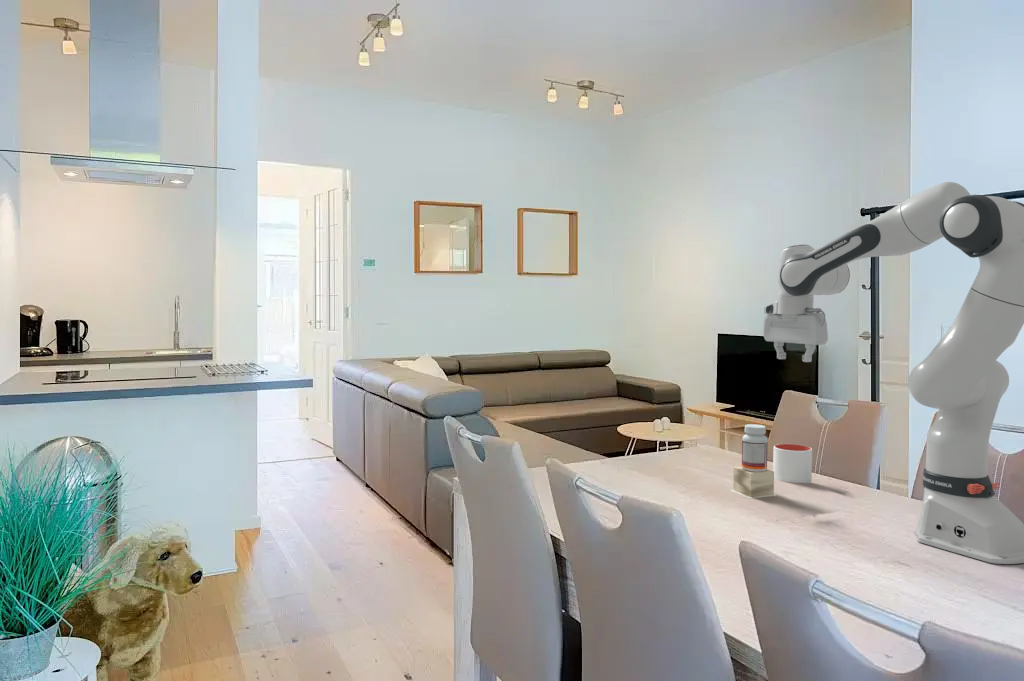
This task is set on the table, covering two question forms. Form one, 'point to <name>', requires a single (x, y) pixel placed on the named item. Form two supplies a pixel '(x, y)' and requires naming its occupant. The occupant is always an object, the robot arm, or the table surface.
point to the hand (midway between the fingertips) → (793, 360)
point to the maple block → (753, 482)
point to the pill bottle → (754, 448)
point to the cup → (792, 463)
